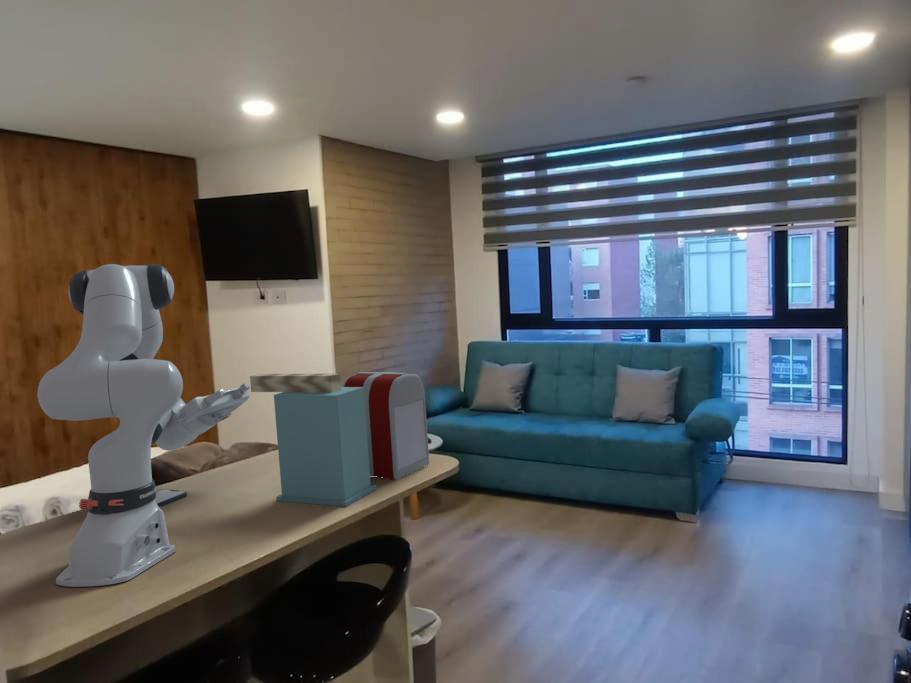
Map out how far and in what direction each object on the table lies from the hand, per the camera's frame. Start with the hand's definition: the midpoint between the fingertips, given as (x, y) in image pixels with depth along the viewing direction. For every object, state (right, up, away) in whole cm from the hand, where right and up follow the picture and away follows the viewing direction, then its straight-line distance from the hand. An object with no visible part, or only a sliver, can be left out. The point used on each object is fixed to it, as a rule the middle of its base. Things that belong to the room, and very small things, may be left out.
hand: (235, 388), depth 183 cm
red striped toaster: (+38, -23, +13) cm, 47 cm away
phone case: (-19, -29, -7) cm, 35 cm away
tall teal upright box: (+25, -26, -8) cm, 37 cm away
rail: (+17, 0, -8) cm, 19 cm away
